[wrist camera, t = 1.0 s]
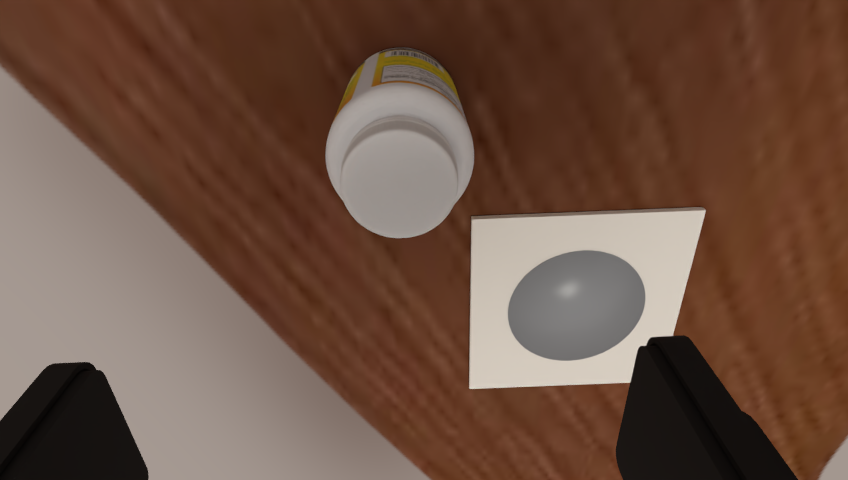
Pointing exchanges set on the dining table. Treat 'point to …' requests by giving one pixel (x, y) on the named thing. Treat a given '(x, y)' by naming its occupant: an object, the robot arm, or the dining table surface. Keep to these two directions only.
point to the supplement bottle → (400, 144)
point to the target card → (574, 292)
